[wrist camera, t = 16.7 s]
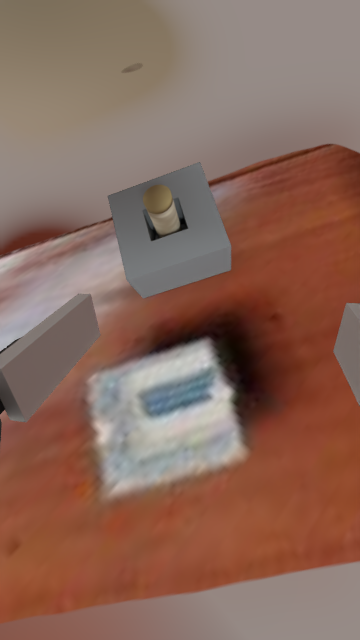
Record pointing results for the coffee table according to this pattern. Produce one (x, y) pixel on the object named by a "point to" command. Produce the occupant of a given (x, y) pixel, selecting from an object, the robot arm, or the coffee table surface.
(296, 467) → the coffee table surface
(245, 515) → the coffee table surface
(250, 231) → the coffee table surface
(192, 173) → the socket block
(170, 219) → the peg
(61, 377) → the robot arm
